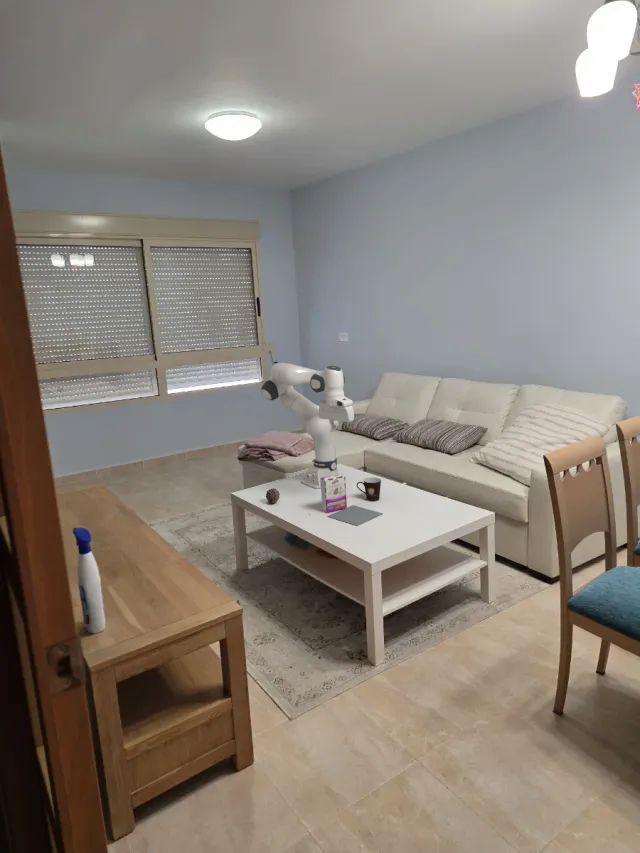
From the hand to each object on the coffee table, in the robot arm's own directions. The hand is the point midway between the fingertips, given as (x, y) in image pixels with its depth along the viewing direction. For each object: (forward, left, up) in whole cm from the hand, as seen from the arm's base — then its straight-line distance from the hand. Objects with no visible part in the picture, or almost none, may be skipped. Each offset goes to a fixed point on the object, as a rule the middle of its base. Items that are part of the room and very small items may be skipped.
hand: (336, 429), depth 270 cm
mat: (+17, -8, -37) cm, 42 cm away
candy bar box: (+4, -8, -37) cm, 38 cm away
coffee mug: (+8, +14, -37) cm, 41 cm away
